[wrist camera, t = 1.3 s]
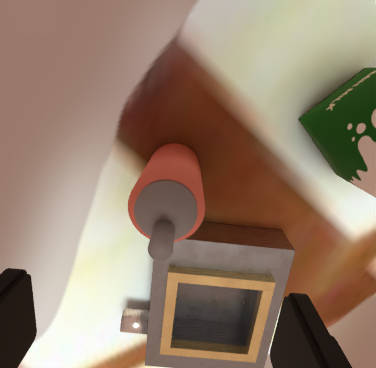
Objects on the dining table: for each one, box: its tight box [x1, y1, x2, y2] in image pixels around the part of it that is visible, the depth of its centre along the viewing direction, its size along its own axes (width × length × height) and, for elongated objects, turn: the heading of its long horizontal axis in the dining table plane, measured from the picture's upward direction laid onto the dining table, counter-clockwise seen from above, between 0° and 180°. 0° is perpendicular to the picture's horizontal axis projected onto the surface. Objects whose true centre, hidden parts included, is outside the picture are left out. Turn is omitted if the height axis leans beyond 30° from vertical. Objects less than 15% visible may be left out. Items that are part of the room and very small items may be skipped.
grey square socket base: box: [120, 222, 295, 368], centre depth 29 cm, size 16×16×5 cm
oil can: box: [128, 143, 205, 260], centre depth 21 cm, size 5×5×13 cm
